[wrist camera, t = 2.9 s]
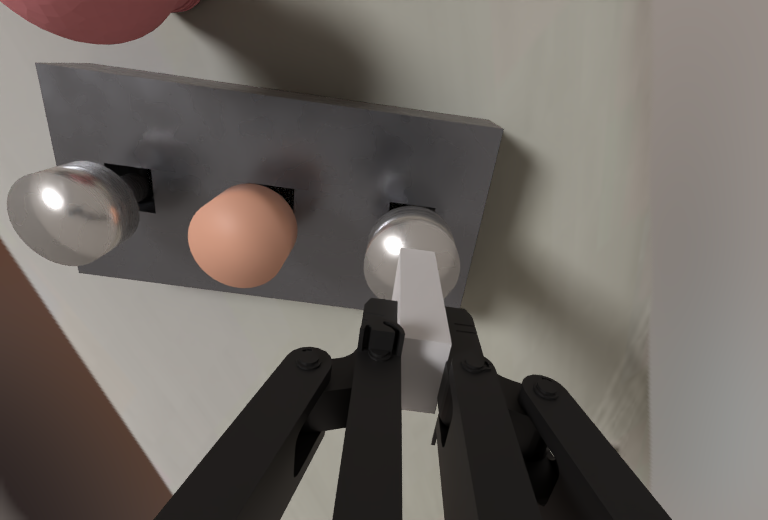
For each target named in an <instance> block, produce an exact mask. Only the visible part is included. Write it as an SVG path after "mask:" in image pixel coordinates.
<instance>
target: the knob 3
mask: <svg viewBox="0 0 768 520" xmlns="http://www.w3.org/2000/svg"><path fill="white" fill-rule="evenodd" d="M400 247H402V248H410V249H417V250H425V251H432V252H435V256H436V262H437V267H438V273H439V278H440V283H441V289H442V294H443V299H444V298H445V297H446V296H447V295H448V294H449V293H450V292H451V291H452V290H453V288H454V287H455V285H456V283H457V281H458V277H459V273H460V259H459V255H458V252H457V248H456V245H455V242H454V239H453V235H452V232H451V230H450V228H449V226H448V225H447V223H446V222H445V221H444V219H443V218H442V217H440V216H439V215H438V214H437V213H435V212H433V211H431V210H429V209H427V208H424V207H419V206H403V207H399V208H395V209H393V210H391V211H389V212H387V213H386V214H384V215H383V216H382V217H380V218H379V219H378V221H377V222H376V223H375V224H374V226H373V227H372V229H371V231H370V234H369V238H368V243H367V248H366V254H365V259H364V275H365V279H366V281H367V284H368V286H369V288H370V289H371V291H372V292H373V293H374V294H375V295H376V296H377V297H378V298H379V299H386V300H392V296H393V290H394V284H395V277H396V271H397V265H398V259H399V253H400Z"/></svg>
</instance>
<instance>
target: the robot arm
mask: <svg viewBox="0 0 768 520" xmlns="http://www.w3.org/2000/svg"><path fill="white" fill-rule="evenodd" d="M437 402H438V409H439V414H438V418H437V422H436V426H435V430H434V434H433V438H432V444H431V445H435V443H436V439H437V445H438V455H439V466H440V476H441V487H442V497H443V508H444V518H445V520H672V519H671V518H670V517H669V515H668V514H667V513H666V512H665V510H664V509H663V508H662V507H661V505H660V504H659V503H658V502H657V501H656V499H655V498H654V497H653V496H652V494H651V493H650V492H649V491H648V490H647V488H646V487H645V486H644V485H643V483H642V482H641V481H640V480H639V478H638V477H637V476H636V475H635V474H634V472H633V471H632V470H631V469H630V467H629V466H628V465H627V464H626V463H625V461H624V460H623V459H622V458H621V456H620V455H619V454H618V453H617V451H616V450H615V449H614V448H613V447H612V445H611V444H610V443H609V442H608V440H607V439H606V438H605V437H604V436H603V434H602V433H601V432H600V431H599V429H598V428H597V427H596V426H595V424H594V423H593V422H592V421H591V420H590V418H589V417H588V416H587V415H586V413H585V412H584V411H583V410H582V409H581V407H580V406H579V405H578V404H577V402H576V401H575V400H574V399H573V397H572V396H571V395H570V394H569V393H568V391H567V390H566V389H565V388H564V387H563V386H562V385H561V384H560V383H558V382H556V381H555V380H553V379H551V378H548V377H545V376H542V375H530V376H527V377H526V378H524V379H523V382H522V384H521V383H518V382H515V381H512V380H509V379H507V378H504V377H502V376H500V375H498V374H497V372H496V369H495V367H494V366H493V364H492V362H490V361H489V360H488V359H487V358H485V357H484V356H483V353H482V349H481V346H480V342H479V339H478V335H477V332H476V328H475V325H474V321H473V318H472V316H471V315H470V314H469V313H468V312H467V311H466V310H465V309H461V308H454V307H446V306H445V305H444V300H443V294H442V289H441V283H440V278H439V273H438V267H437V262H436V256H435V252H432V251H425V250H417V249H410V248H402V247H400V253H399V259H398V265H397V271H396V277H395V284H394V290H393V296H392V300H386V299H378V298H370V299H369V300H368V301H367V302H366V303H365V305H364V312H363V319H362V325H361V328H360V334H359V341H358V348H357V349H356V350H355V352H353V353H352V354H350V355H348V356H346V357H342V358H336V359H331V356H330V355H329V354H328V353H327V352H326V351H324V350H321V349H319V348H314V347H302V348H299V349H296V350H293V351H292V352H291V353H289V354H288V355H287V356H286V357H285V359H284V360H283V361H282V362H281V364H280V365H279V366H278V367H277V369H276V370H275V371H274V372H273V373H272V375H271V376H270V377H269V378H268V380H267V381H266V382H265V383H264V385H263V386H262V387H261V388H260V389H259V391H258V392H257V393H256V394H255V396H254V397H253V398H252V399H251V400H250V402H249V403H248V404H247V405H246V407H245V408H244V409H243V410H242V412H241V413H240V414H239V415H238V416H237V418H236V419H235V420H234V421H233V423H232V424H231V425H230V426H229V428H228V429H227V430H226V431H225V432H224V434H223V435H222V436H221V437H220V439H219V440H218V441H217V442H216V444H215V445H214V446H213V447H212V448H211V450H210V451H209V452H208V453H207V455H206V456H205V457H204V458H203V459H202V461H201V462H200V463H199V464H198V466H197V467H196V468H195V469H194V471H193V472H192V473H191V474H190V475H189V477H188V478H187V479H186V480H185V482H184V483H183V484H182V485H181V487H180V488H179V489H178V490H177V491H176V493H175V494H174V495H173V496H172V498H171V499H170V500H169V501H168V502H167V504H166V505H165V506H164V507H163V509H162V510H161V511H160V512H159V514H158V515H157V516H156V517H155V519H154V520H280V519H281V517H282V515H283V513H284V511H285V509H286V508H287V506H288V504H289V502H290V500H291V498H292V496H293V494H294V492H295V490H296V488H297V487H298V485H299V483H300V481H301V479H302V477H303V475H304V473H305V471H306V469H307V467H308V466H309V464H310V462H311V460H312V458H313V456H314V454H315V452H316V450H317V448H318V446H319V445H320V443H321V441H322V439H323V437H324V434H325V431H327V430H333V429H339V428H346V431H345V438H344V445H343V452H342V458H341V465H340V472H339V479H338V486H337V492H336V499H335V506H334V513H333V520H402V415H401V410H409V411H417V412H425V413H433V414H435V410H436V406H437ZM549 449H550V450H549ZM550 451H551V452H552V453H551V452H550ZM552 454H553V455H554V456H553V455H552Z"/></svg>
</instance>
